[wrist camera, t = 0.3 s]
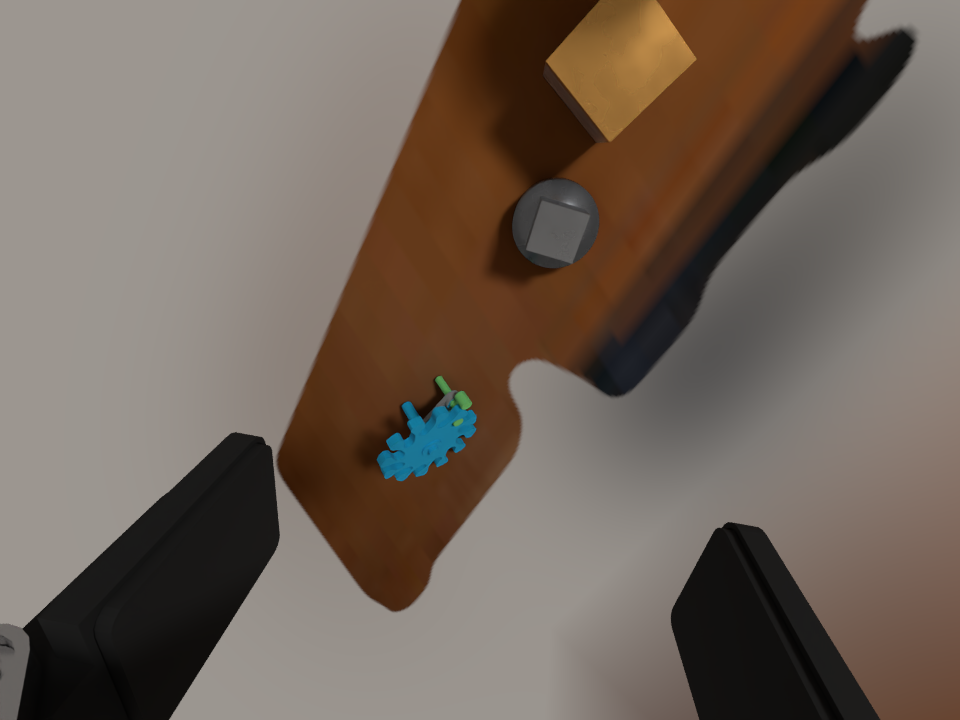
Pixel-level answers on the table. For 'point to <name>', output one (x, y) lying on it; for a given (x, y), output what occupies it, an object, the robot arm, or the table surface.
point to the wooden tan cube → (616, 64)
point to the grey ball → (555, 223)
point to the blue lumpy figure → (429, 435)
